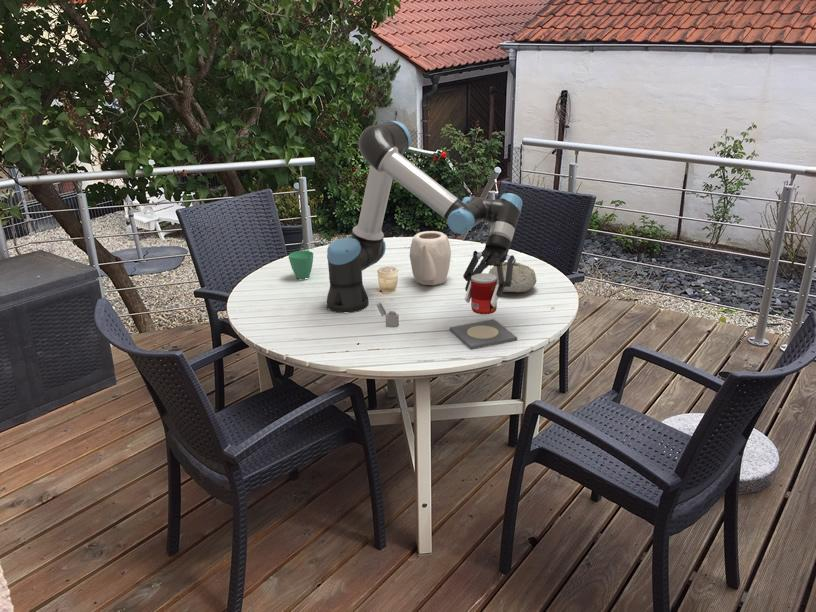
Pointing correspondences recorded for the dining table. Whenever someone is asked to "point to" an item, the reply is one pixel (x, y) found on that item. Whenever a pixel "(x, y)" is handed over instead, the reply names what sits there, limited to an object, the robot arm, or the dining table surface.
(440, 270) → the cream ceramic pot
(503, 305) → the dining table surface
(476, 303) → the canned food
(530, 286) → the grey rounded rock
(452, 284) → the dining table surface
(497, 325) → the mat
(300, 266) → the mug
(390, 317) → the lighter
